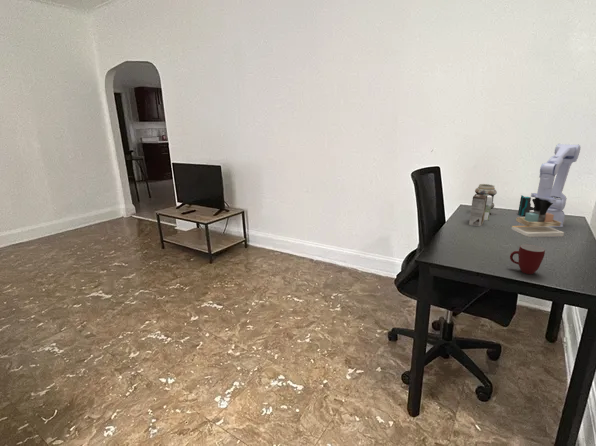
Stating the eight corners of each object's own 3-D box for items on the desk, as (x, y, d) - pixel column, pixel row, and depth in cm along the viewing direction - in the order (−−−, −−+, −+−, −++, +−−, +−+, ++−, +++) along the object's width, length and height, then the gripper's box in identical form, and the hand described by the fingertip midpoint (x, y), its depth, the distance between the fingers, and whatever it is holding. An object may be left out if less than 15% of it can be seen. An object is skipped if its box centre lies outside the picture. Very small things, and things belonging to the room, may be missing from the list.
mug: (507, 272, 132) (511, 247, 129) (508, 264, 138) (512, 241, 136) (540, 278, 127) (545, 253, 124) (539, 270, 133) (544, 246, 130)
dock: (545, 229, 183) (546, 225, 183) (563, 236, 172) (564, 232, 171) (511, 229, 182) (512, 226, 181) (527, 237, 171) (528, 233, 170)
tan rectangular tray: (546, 221, 181) (549, 209, 179) (560, 226, 172) (563, 213, 170) (515, 221, 180) (518, 209, 178) (528, 226, 171) (530, 213, 169)
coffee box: (471, 221, 198) (475, 193, 193) (483, 222, 195) (488, 195, 190) (468, 224, 191) (472, 196, 186) (481, 226, 187) (485, 198, 183)
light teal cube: (531, 220, 177) (533, 212, 176) (537, 222, 174) (539, 214, 172) (524, 220, 177) (525, 212, 176) (529, 222, 173) (531, 214, 172)
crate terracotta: (546, 220, 178) (547, 212, 177) (552, 222, 174) (554, 214, 173) (538, 220, 178) (540, 212, 177) (544, 222, 174) (546, 214, 173)
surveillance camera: (542, 198, 200) (522, 197, 204) (538, 218, 203) (518, 216, 207) (540, 196, 204) (521, 195, 209) (536, 216, 208) (517, 214, 212)
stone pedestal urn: (497, 216, 208) (502, 186, 203) (477, 216, 208) (481, 187, 203) (486, 211, 220) (490, 183, 214) (467, 211, 220) (471, 183, 214)
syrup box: (484, 218, 203) (488, 194, 199) (488, 221, 198) (492, 196, 194) (474, 218, 204) (478, 194, 200) (478, 220, 198) (482, 196, 194)
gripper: (527, 184, 177) (522, 210, 181) (548, 190, 163) (542, 217, 167) (540, 184, 178) (535, 210, 182) (562, 190, 164) (556, 217, 168)
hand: (539, 213), depth 174 cm, fingers closed on tan rectangular tray, 3 cm apart
